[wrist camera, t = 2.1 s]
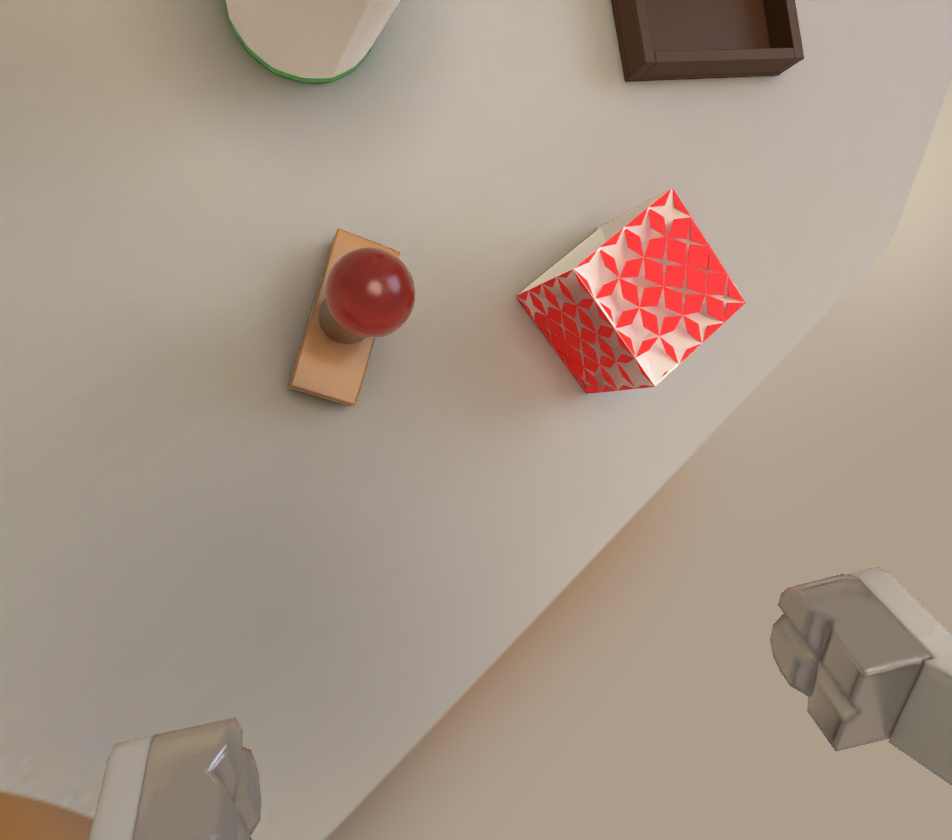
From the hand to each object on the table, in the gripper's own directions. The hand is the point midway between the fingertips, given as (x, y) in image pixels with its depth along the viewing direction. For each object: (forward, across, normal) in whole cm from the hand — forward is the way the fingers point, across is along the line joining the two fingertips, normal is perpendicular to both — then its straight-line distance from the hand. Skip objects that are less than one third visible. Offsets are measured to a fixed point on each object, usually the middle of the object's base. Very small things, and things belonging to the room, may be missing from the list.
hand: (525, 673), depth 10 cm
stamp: (+32, +2, +9) cm, 33 cm away
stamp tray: (+45, -25, -4) cm, 52 cm away
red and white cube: (+34, -14, +12) cm, 38 cm away
